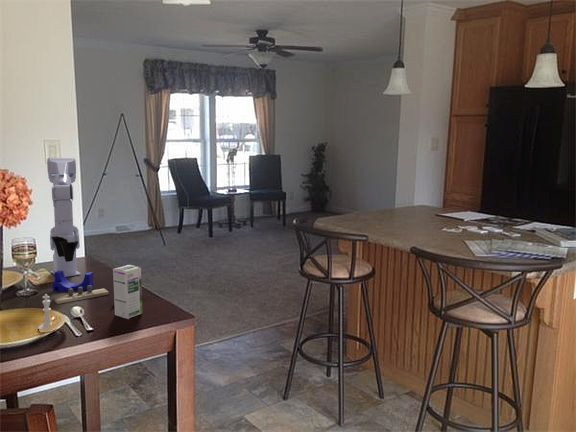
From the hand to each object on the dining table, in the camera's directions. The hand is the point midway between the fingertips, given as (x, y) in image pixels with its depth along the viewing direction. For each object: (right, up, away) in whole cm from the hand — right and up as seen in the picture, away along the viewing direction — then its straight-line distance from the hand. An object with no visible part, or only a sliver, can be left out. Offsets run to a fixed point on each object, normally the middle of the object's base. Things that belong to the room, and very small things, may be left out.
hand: (65, 258), depth 177 cm
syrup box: (+29, -15, -24) cm, 40 cm away
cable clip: (+4, -11, -3) cm, 12 cm away
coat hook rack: (+10, -12, -10) cm, 18 cm away
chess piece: (+11, -16, -36) cm, 41 cm away
